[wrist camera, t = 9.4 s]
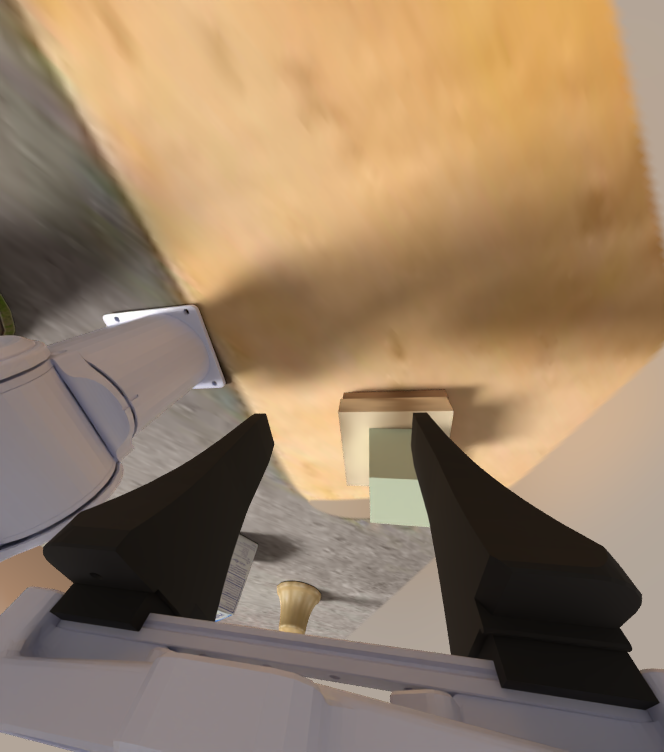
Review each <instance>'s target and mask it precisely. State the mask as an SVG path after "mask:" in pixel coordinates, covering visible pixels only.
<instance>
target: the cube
mask: <svg viewBox="0 0 664 752" xmlns="http://www.w3.org/2000/svg"><path fill="white" fill-rule="evenodd" d="M411 434H412V429H381V428H369V490H370V523H382V524H395V525H408V526H421V527H430V523H429V519H428V515H427V511H426V508H425V504H424V501H423V497H422V493H421V490H420V486H419V483H418V479H417V476H416V472H415V468H414V464H413V457H412V451H411Z"/></svg>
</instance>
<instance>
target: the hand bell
mask: <svg viewBox="0 0 664 752" xmlns="http://www.w3.org/2000/svg"><path fill="white" fill-rule="evenodd" d="M277 593H278V596H279V598H280V604H281V614H280V623H279V631H284V632H291V633H298V634H305V631H306V626H307V623H308V619H309V617H310V614H311V612H312V610H313V608H314V607H315V605H316V604H318V603H319V601H320V599H321V593H320V592H319V591H318V590H317V589H316V588H315V587H313V586H311V585H308V584H305V583H302V582H297V581H286V582H282V583H280V584H279V585H278V586H277Z"/></svg>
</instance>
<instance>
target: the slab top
mask: <svg viewBox="0 0 664 752" xmlns="http://www.w3.org/2000/svg"><path fill="white" fill-rule="evenodd" d="M419 412H427V413H428V414H429V415H430V416H431V418H432V419H433V420H434V421H435V422H436V424H437V425H438V426H439V427H440V428H441V429H442V430H443V432H444V433H445V434H446V435H447V436H448V437H449V438H450V433H451V426H452V419H453V412H454V411H453V409H452V407H451V405H450V403H449V401H448V399H447V397H414V398H363V399H341V400H340V405H339V411H338V414H339V423H340V431H341V440H342V448H343V457H344V465H345V474H346V482H347V485H351V486H369V428H381V429H412V418H413V413H419Z"/></svg>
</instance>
